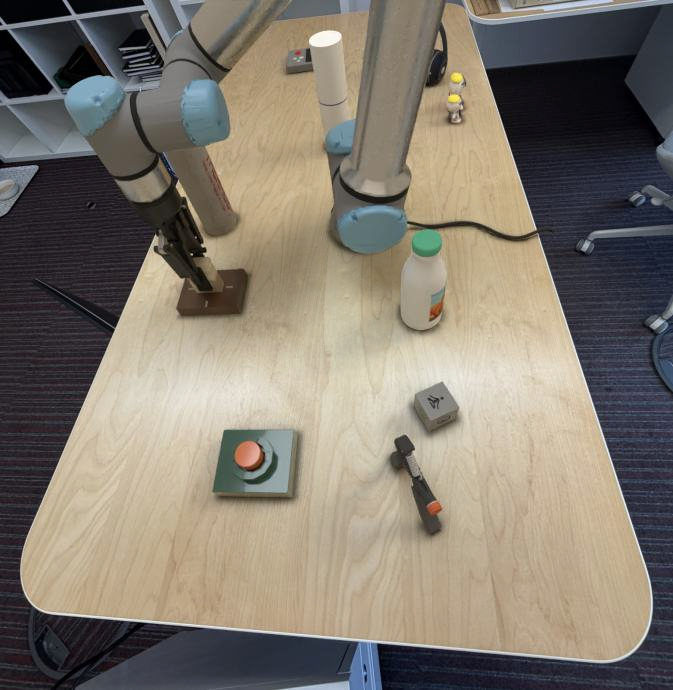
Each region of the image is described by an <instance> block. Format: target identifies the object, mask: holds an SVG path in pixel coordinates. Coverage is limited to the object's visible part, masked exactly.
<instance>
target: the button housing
mask: <svg viewBox="0 0 673 690" xmlns="http://www.w3.org/2000/svg"><path fill="white" fill-rule="evenodd" d="M298 436H299V435H298V434H297V432H296V430H295V429H223V432H222V438H221V443H220V448H219V453H218V459H217V464H216V470H215V474H214V479H213V485H212V491H211V492H212V493H213V494H216V495H217V496H220V497H251V498H253V497H255V498H256V497H257V498H267V497H268V498H293V491H294V481H295V470H296V459H297V448H298V440H299V439H298V438H299V437H298ZM246 441H253V442H255V443H257V444H258V445H259V447H260V448H261V449H262V450H263V453H264V458H263V461H262V463H261V464H260V466H259V467H257V468H256V469H253V470H245V469H243V468H242V467H241V466H240V465H238V464H237V462H236V460H235V451H236V449H237V447H238V446H239V445H240V444H241V443H243V442H246Z"/></svg>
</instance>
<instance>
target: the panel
mask: <svg viewBox="0 0 673 690" xmlns="http://www.w3.org/2000/svg"><path fill="white" fill-rule="evenodd" d="M216 270H217V271H218V273H219V275H220V277H221V279H222V280H223V282H224V285H223V289H222V292H211V293H196V291H195V290H194V288H193V287H192V285H191V284H190V282H189V281H188V279H187V278H184V280H183V283H182V288H181V291H180V294H179V297H178V301H177V304H176V308H175V310H176V311H177V312H178V313H179V315H180V316H183V317H184V316H186V317H187V316H207V315H232V314H235V315H236V314H241V312H242V306H243V301H244V297H245V291H246V287H247V281H248V274H247V272H246V269H245V268H233V269H232V268H230V269H216Z"/></svg>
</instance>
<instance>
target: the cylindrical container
mask: <svg viewBox="0 0 673 690" xmlns="http://www.w3.org/2000/svg"><path fill="white" fill-rule="evenodd" d="M342 37H343V36H342V33H341V32H339V31H337V30H323V31H318V32H317V33H315V34H313V35H312V36H310V37H309V38H308V45H309V48H310V51H311V58H312V64H313V70H312V71H313V75H314V81H315V82H314V83H315V87H316V95H317V101H318V107H319V112H320V119H321V125H322V131H323V137H324V140H325V139H326V136H327V133H328V132H329V131H330V130H331V129H332V128H333V127H335V126H337V125H338V124H340V123H342V122H345V121H348V120H351V115H350V106H349V96H348V95H349V94H348V84H347V75H346V66H345V56H344V46H343V38H342ZM324 143H325V145H326V142H325V141H324Z"/></svg>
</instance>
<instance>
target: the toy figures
mask: <svg viewBox="0 0 673 690" xmlns="http://www.w3.org/2000/svg"><path fill="white" fill-rule="evenodd" d="M449 79H450V80H449V84H448V89H449V91H448V97H447V101H446V109H447V112H448V118H449V120H450V123H452V124H460V123H461V122H462V117H463V114H462V110H463V109H464V103H465V102H464V99H463V97H462V95H461V94H462V93H463V91H464V88H465V87H467V80H466V78H465V75H464V74H461V73H460V72H453V73H452V74H451V75H450V77H449Z"/></svg>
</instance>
